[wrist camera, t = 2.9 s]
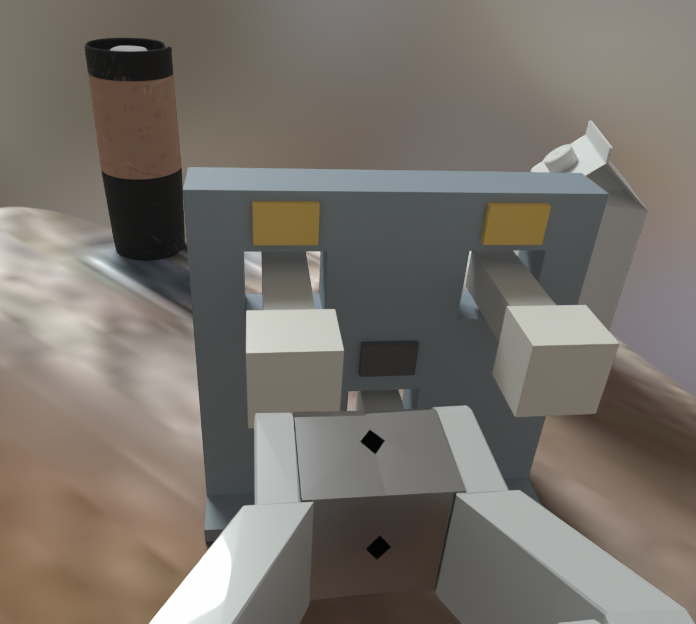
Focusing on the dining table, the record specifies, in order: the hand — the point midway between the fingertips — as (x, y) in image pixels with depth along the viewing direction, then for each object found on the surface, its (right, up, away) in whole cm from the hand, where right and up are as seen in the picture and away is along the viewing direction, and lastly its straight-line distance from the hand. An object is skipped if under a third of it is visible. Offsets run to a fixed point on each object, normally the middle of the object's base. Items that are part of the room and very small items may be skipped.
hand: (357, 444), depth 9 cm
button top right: (+8, 0, +22) cm, 23 cm away
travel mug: (-21, +9, +59) cm, 63 cm away
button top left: (-3, 0, +20) cm, 21 cm away
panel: (+1, -9, +32) cm, 33 cm away
